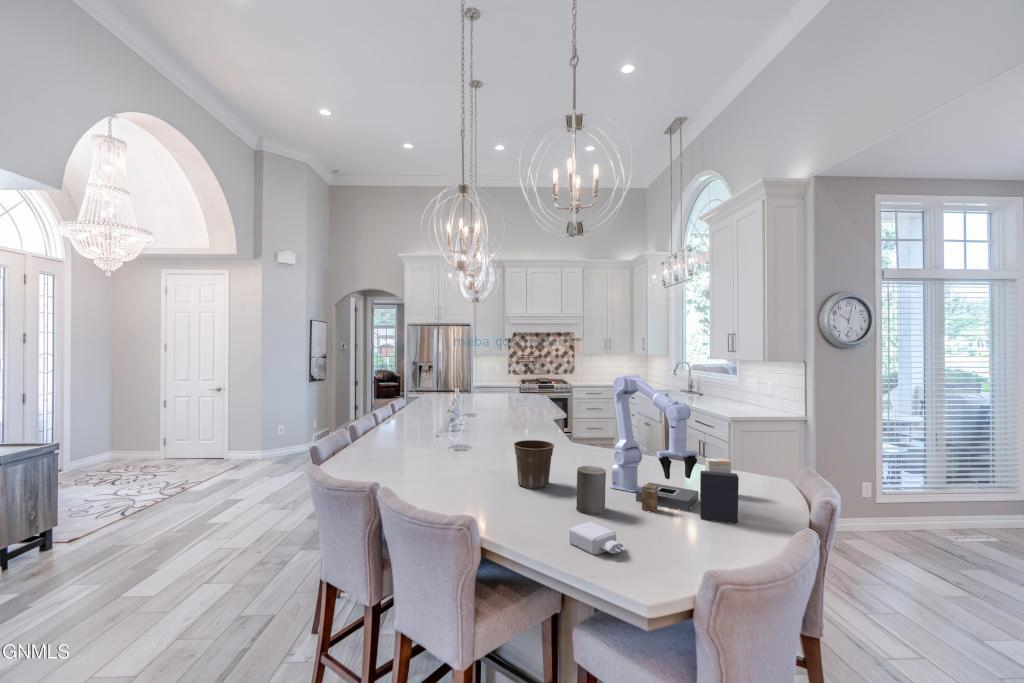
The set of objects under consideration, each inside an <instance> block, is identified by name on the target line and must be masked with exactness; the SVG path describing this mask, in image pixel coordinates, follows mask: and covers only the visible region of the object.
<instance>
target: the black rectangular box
mask: <svg viewBox="0 0 1024 683" xmlns="http://www.w3.org/2000/svg"><path fill="white" fill-rule="evenodd" d="M699 473H700V475H699V476H700V478H699V480H700V482H699V485H700V486H699V487H700V488H699V489H700V490H699V491H700V493H699V517H700V519H701V520H703V519H706V520H705V521H711V520H715V521H714V522H719V521H723V522H722V523H727V522H731V523H730V524H736V523H737V524H738V523H739V485H740V484H739V482H740V481H739V479H740V478H739V475H738V474H737V473H733V472H731V473H723V472H712V471H705V470H700V472H699Z"/></svg>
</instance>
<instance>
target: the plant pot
mask: <svg viewBox="0 0 1024 683" xmlns="http://www.w3.org/2000/svg"><path fill="white" fill-rule="evenodd" d="M513 446H514V454H515V459H516V470H517V471H516V472H517V484H518V486H519V487H522V488H524V489H528V488H529V489H530V490H539V489H542V488H547V487H548V486H549V484H550V475H551V474H550V473H551V465H552V464H551V463H552V456H553V454H554V453H553V452H554V448H555V444H554V443H553V442H549V441H546V440H539V439H538V440H536V439H534V440H533V439H529V440H528V439H526V440H524V439H523V440H519V441H515V442H514V443H513Z"/></svg>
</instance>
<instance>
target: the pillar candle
mask: <svg viewBox="0 0 1024 683" xmlns="http://www.w3.org/2000/svg"><path fill="white" fill-rule="evenodd" d="M606 475H607V469H605V468H603V467H602V466H595V465H582V466H579V467H577V469H576V508H575V509H576V511H577V512H579V513H581V514H585V515H589V514H590V515H592V516H593V515H594V516H595V515H596V514H597V515H602V514H604V513H605V511H606V484H607V483H606V481H607V480H606V479H607V477H606ZM597 515H596V516H597Z"/></svg>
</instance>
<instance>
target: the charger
mask: <svg viewBox="0 0 1024 683" xmlns="http://www.w3.org/2000/svg"><path fill="white" fill-rule="evenodd" d="M568 533H569V536H568V537H569V538H568V540H569V543H570V545H573V546H575V547H577V548H579V549H581V550H583V551H585V552H587V553H589V554H592V555H593V554H594V555H595V556H596V554H597V555H600V554H603V553H606V552H607V553H610V554H612V555H613V554H616V553H621V552H622V551H623V552H624V551H625V550H626V549H625V548H624V545H623V544H622V543H620V542H618V541H617V533H616V531H614V530H611V529H608V528H606V527H605V526H602V525H599V524H597V523H595V522H592V521H587V522H584V523H581V524H577V525H574V526H572V527H570V529H569V532H568ZM621 550H622V551H621Z"/></svg>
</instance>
